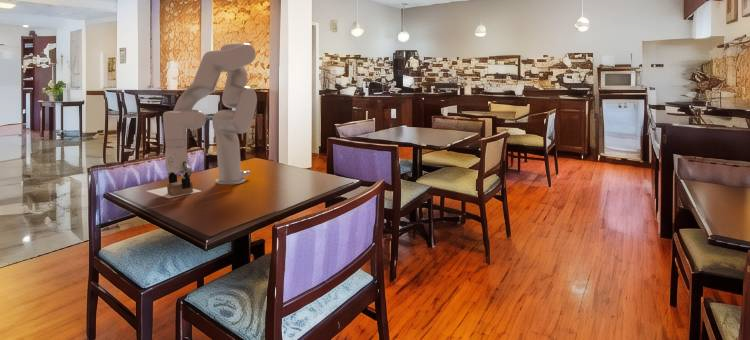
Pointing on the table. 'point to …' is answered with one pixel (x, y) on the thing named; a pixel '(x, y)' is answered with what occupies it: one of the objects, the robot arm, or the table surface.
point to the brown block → (178, 188)
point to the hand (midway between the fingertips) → (179, 186)
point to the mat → (164, 192)
